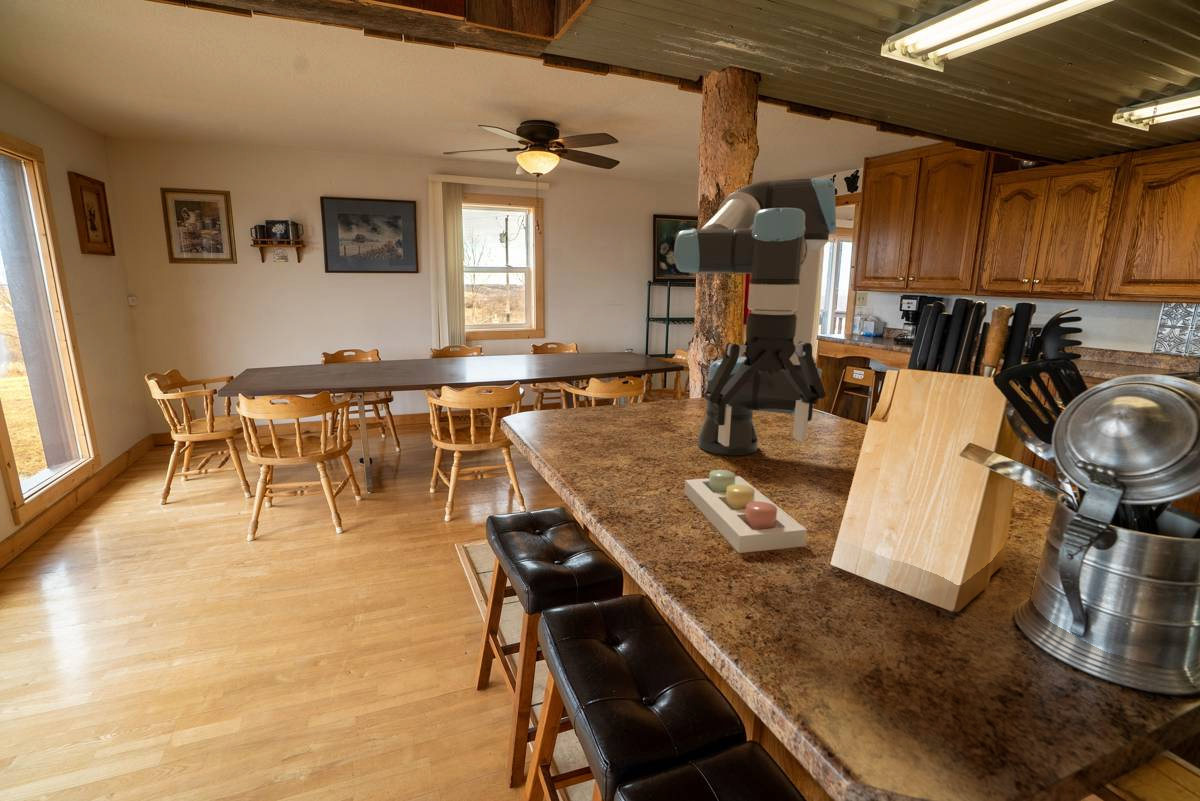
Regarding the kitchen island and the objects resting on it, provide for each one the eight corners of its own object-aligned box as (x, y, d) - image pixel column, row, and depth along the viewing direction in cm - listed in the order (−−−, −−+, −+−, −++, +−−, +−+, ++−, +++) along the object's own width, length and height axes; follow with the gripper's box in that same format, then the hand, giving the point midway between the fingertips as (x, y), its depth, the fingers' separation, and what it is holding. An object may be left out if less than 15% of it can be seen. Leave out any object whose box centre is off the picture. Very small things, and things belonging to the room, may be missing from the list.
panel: (738, 489, 116) (739, 476, 116) (805, 546, 92) (807, 529, 92) (684, 493, 114) (685, 479, 113) (738, 553, 90) (739, 536, 89)
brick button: (766, 516, 98) (767, 500, 97) (781, 528, 93) (782, 512, 92) (740, 518, 97) (741, 502, 96) (753, 531, 92) (755, 514, 91)
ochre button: (745, 498, 105) (746, 483, 105) (758, 509, 101) (759, 493, 100) (721, 500, 104) (722, 485, 104) (732, 511, 100) (733, 495, 99)
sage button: (727, 483, 113) (728, 469, 112) (738, 492, 108) (739, 477, 108) (704, 484, 112) (705, 470, 111) (714, 494, 107) (715, 479, 107)
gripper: (829, 310, 93) (816, 432, 98) (688, 310, 88) (682, 438, 93) (857, 313, 86) (843, 444, 91) (706, 314, 81) (699, 452, 86)
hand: (761, 441), depth 92 cm, fingers open, 13 cm apart
